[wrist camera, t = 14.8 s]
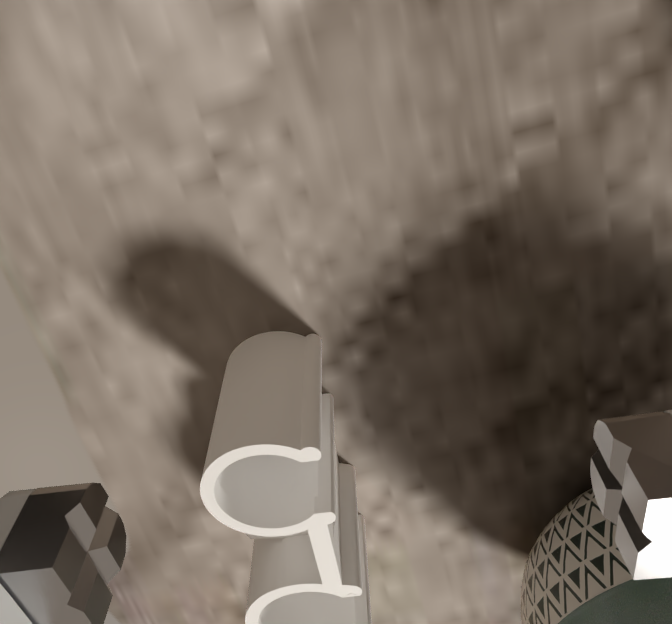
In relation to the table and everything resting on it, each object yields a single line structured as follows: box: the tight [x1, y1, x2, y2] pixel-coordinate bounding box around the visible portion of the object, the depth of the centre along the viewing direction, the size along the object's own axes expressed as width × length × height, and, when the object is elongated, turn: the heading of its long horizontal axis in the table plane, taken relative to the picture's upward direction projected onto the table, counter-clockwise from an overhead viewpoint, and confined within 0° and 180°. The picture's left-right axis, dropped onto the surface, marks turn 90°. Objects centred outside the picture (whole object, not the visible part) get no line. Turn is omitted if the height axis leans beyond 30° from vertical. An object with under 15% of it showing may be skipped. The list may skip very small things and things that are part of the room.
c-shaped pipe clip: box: [200, 331, 372, 624], centre depth 48 cm, size 25×10×12 cm, turn 9°
